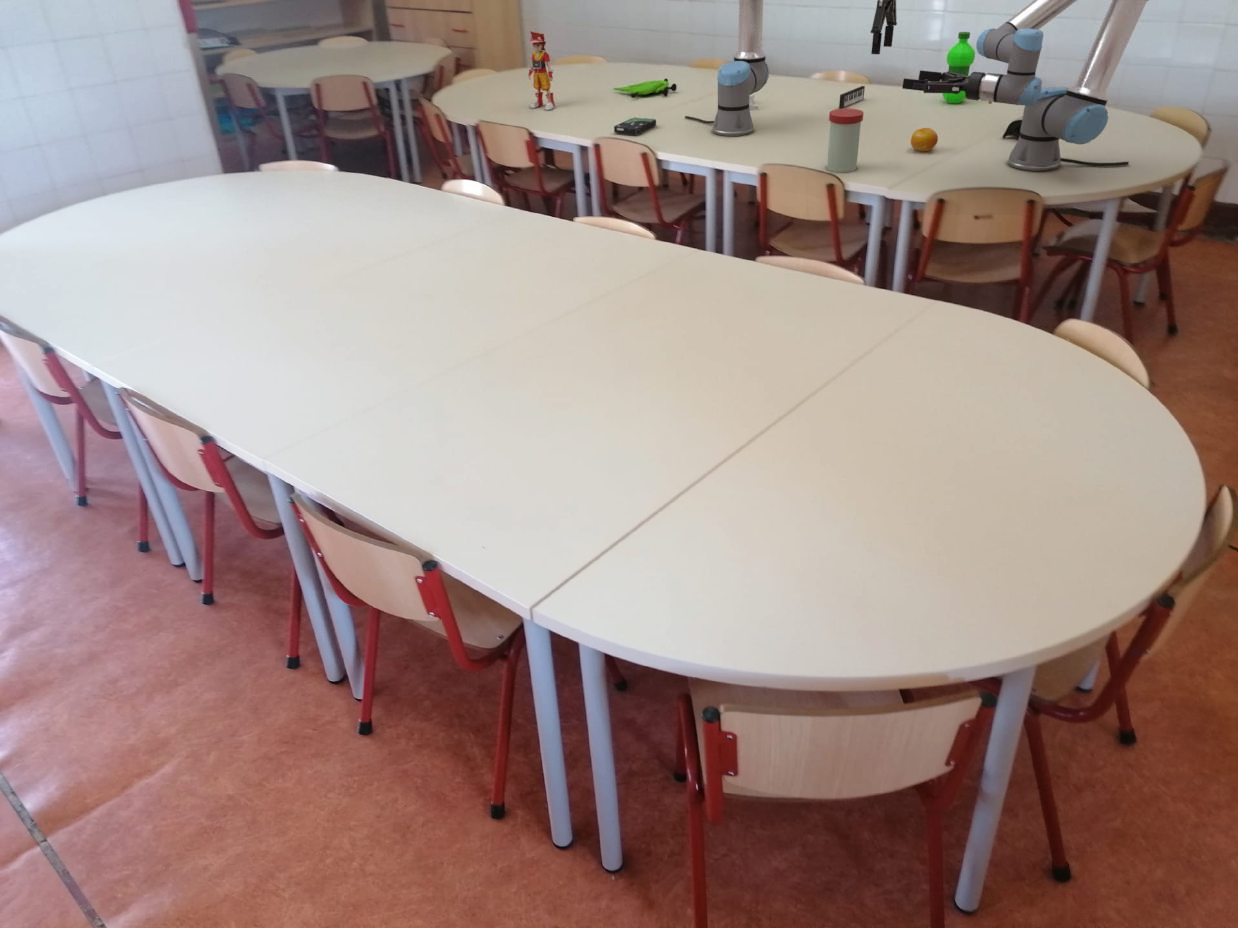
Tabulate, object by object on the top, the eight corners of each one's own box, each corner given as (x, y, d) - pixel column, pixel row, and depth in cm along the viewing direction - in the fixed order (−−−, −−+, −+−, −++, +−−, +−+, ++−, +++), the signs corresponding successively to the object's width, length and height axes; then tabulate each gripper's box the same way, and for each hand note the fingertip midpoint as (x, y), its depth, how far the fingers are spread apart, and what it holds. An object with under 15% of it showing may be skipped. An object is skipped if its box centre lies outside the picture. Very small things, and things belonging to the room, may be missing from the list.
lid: (826, 116, 289) (827, 109, 288) (859, 115, 289) (860, 108, 287) (831, 124, 281) (832, 117, 280) (865, 123, 280) (866, 116, 279)
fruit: (905, 142, 301) (920, 120, 298) (906, 145, 309) (921, 124, 306) (926, 156, 300) (941, 134, 296) (927, 158, 307) (942, 137, 304)
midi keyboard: (841, 108, 355) (842, 95, 352) (838, 108, 356) (840, 94, 353) (863, 99, 366) (865, 86, 363) (860, 98, 366) (862, 86, 364)
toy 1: (525, 109, 381) (517, 32, 364) (534, 104, 388) (527, 28, 371) (550, 110, 377) (543, 32, 360) (559, 105, 384) (553, 28, 367)
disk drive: (637, 136, 338) (656, 126, 348) (636, 129, 336) (656, 118, 346) (613, 134, 342) (633, 123, 352) (613, 126, 341) (633, 116, 351)
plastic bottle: (973, 101, 354) (984, 32, 339) (955, 106, 349) (966, 36, 335) (952, 97, 361) (962, 29, 346) (934, 102, 356) (944, 33, 342)
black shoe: (1032, 109, 328) (1056, 91, 320) (1046, 130, 329) (1070, 113, 320) (998, 131, 311) (1023, 113, 303) (1012, 153, 311) (1038, 136, 303)
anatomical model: (725, 81, 368) (749, 74, 367) (729, 106, 374) (753, 100, 373) (732, 89, 356) (756, 82, 355) (736, 115, 362) (760, 109, 361)
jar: (825, 164, 298) (829, 111, 288) (853, 163, 297) (858, 110, 287) (829, 173, 290) (833, 118, 280) (858, 172, 289) (864, 117, 280)
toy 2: (686, 85, 398) (631, 84, 414) (685, 72, 395) (629, 72, 411) (651, 104, 381) (596, 103, 397) (650, 92, 378) (594, 91, 394)
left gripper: (889, -14, 286) (881, 58, 298) (910, -24, 303) (902, 44, 315) (865, -14, 289) (859, 57, 301) (888, -25, 306) (881, 43, 318)
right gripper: (966, 109, 254) (894, 100, 264) (992, 92, 270) (923, 85, 281) (972, 81, 249) (898, 73, 260) (998, 65, 266) (927, 59, 276)
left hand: (881, 50), depth 308 cm, fingers open, 13 cm apart
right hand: (911, 79), depth 270 cm, fingers open, 13 cm apart
